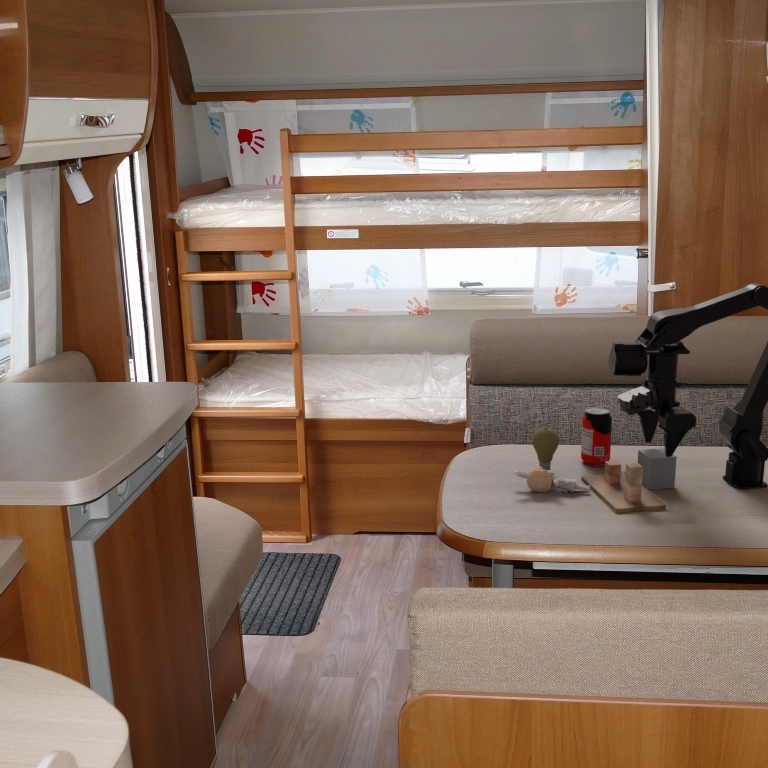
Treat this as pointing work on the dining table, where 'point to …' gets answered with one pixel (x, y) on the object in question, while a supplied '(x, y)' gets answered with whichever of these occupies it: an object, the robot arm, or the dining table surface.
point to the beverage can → (596, 436)
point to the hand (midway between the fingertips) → (658, 449)
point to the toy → (548, 481)
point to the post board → (623, 488)
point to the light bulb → (545, 446)
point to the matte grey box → (657, 468)
